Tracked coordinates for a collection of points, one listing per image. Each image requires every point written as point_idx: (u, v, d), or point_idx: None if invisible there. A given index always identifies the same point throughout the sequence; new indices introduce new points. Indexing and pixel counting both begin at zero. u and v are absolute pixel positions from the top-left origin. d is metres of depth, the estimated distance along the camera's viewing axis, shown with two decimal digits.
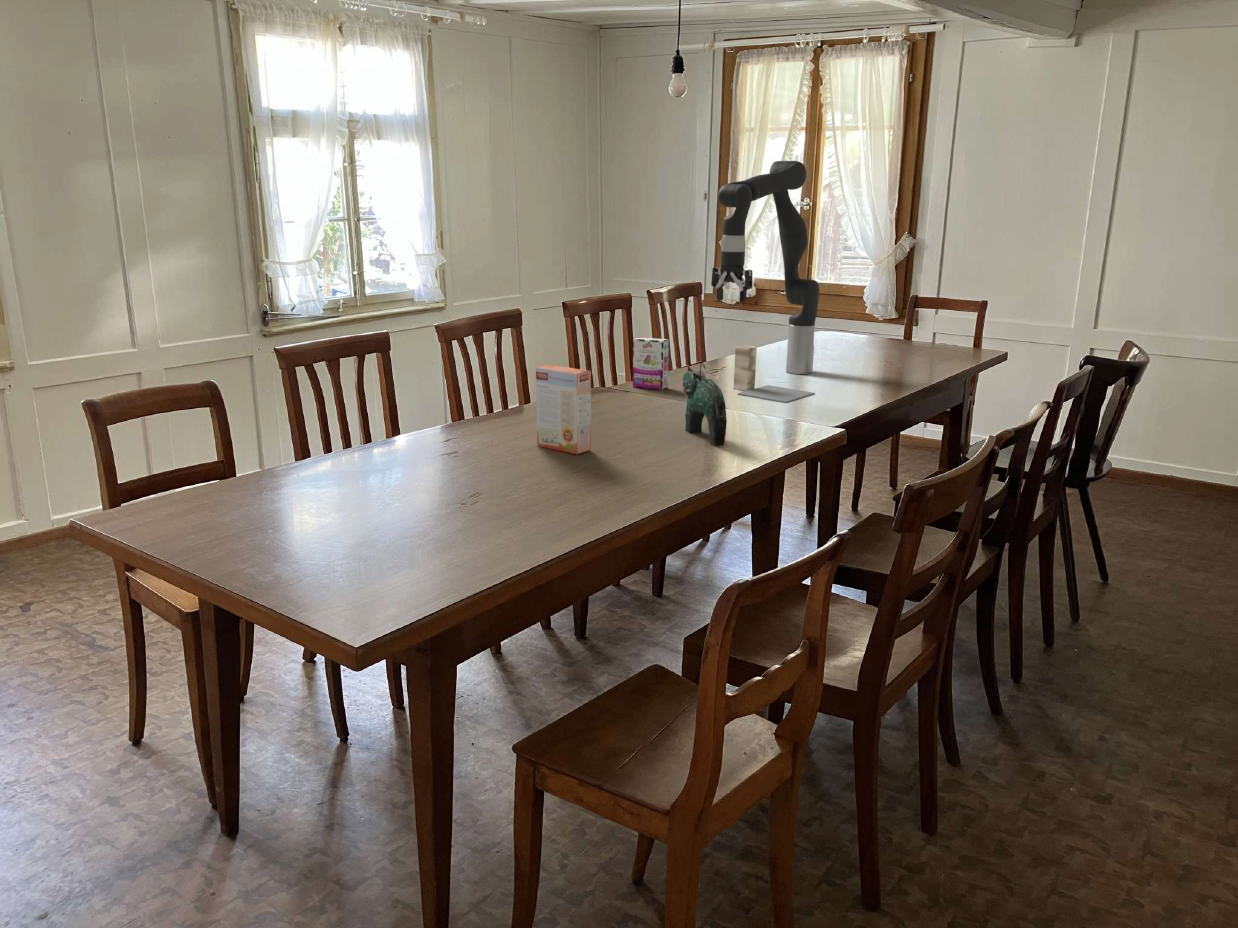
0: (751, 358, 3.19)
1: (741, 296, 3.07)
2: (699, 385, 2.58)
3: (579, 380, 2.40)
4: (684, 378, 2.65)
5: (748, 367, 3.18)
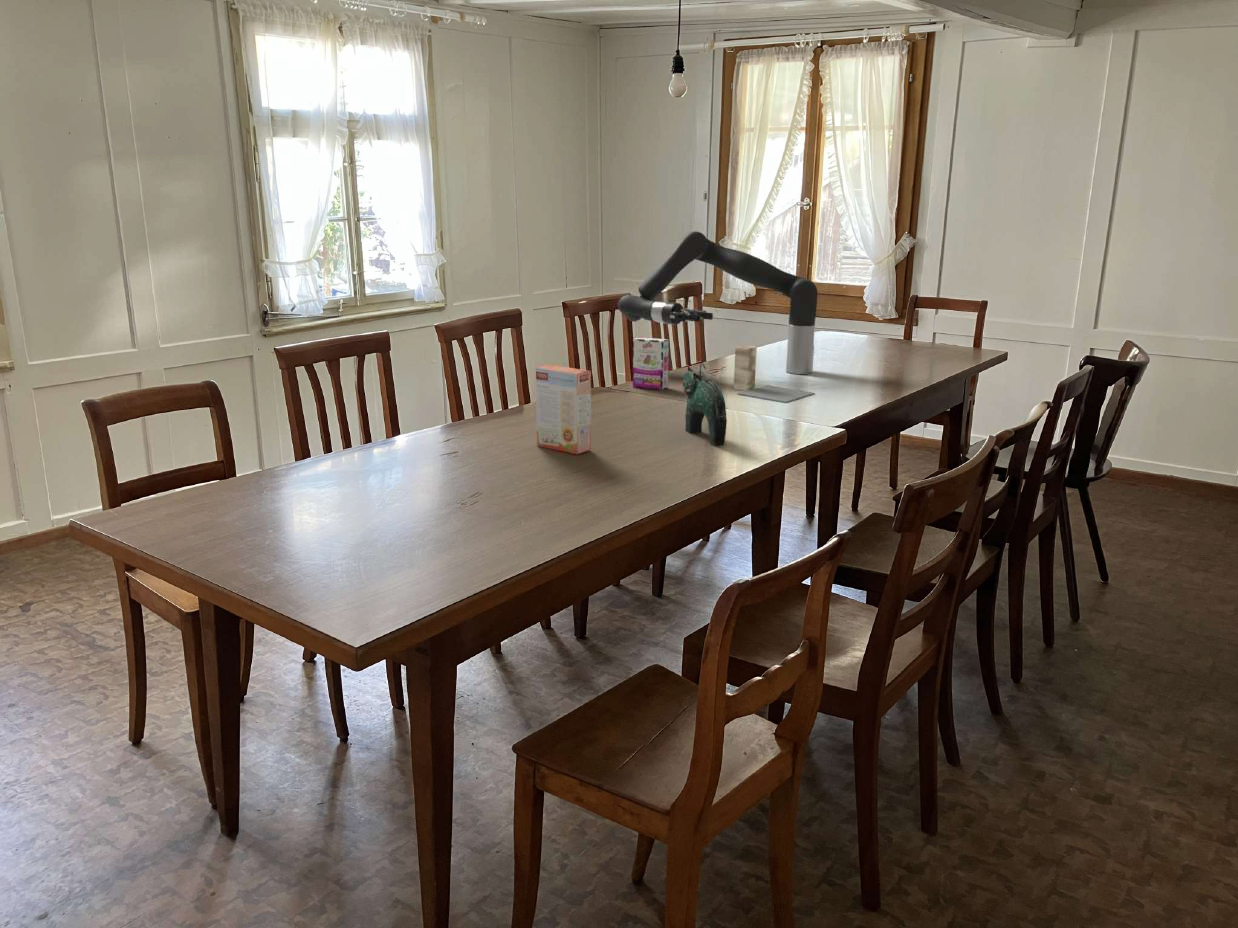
0: (751, 358, 3.19)
1: (694, 320, 3.26)
2: (699, 385, 2.58)
3: (579, 380, 2.40)
4: (684, 378, 2.65)
5: (748, 367, 3.18)
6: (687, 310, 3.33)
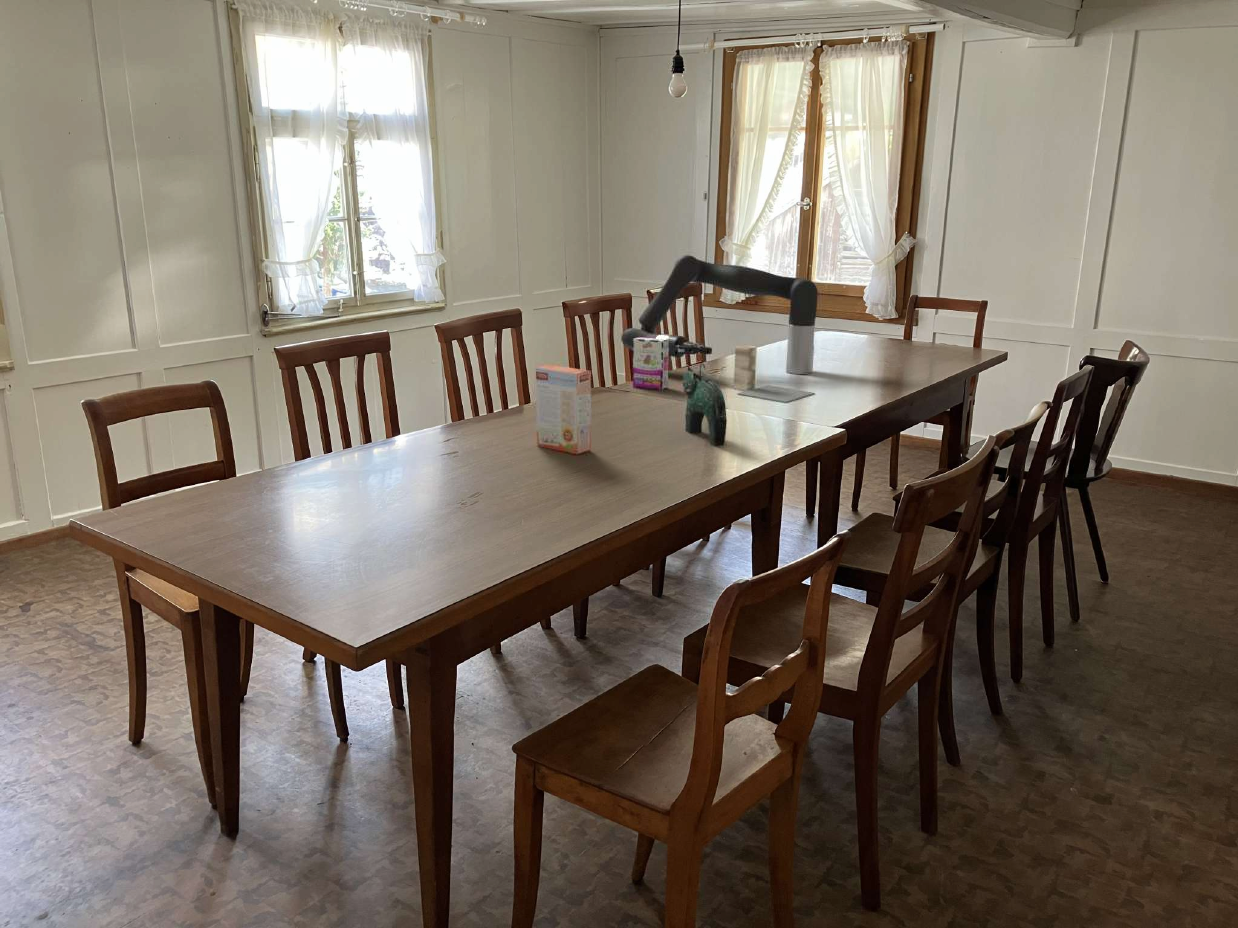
0: (751, 358, 3.19)
1: (704, 353, 3.31)
2: (699, 385, 2.58)
3: (579, 380, 2.40)
4: (684, 378, 2.65)
5: (748, 367, 3.18)
6: (689, 343, 3.36)
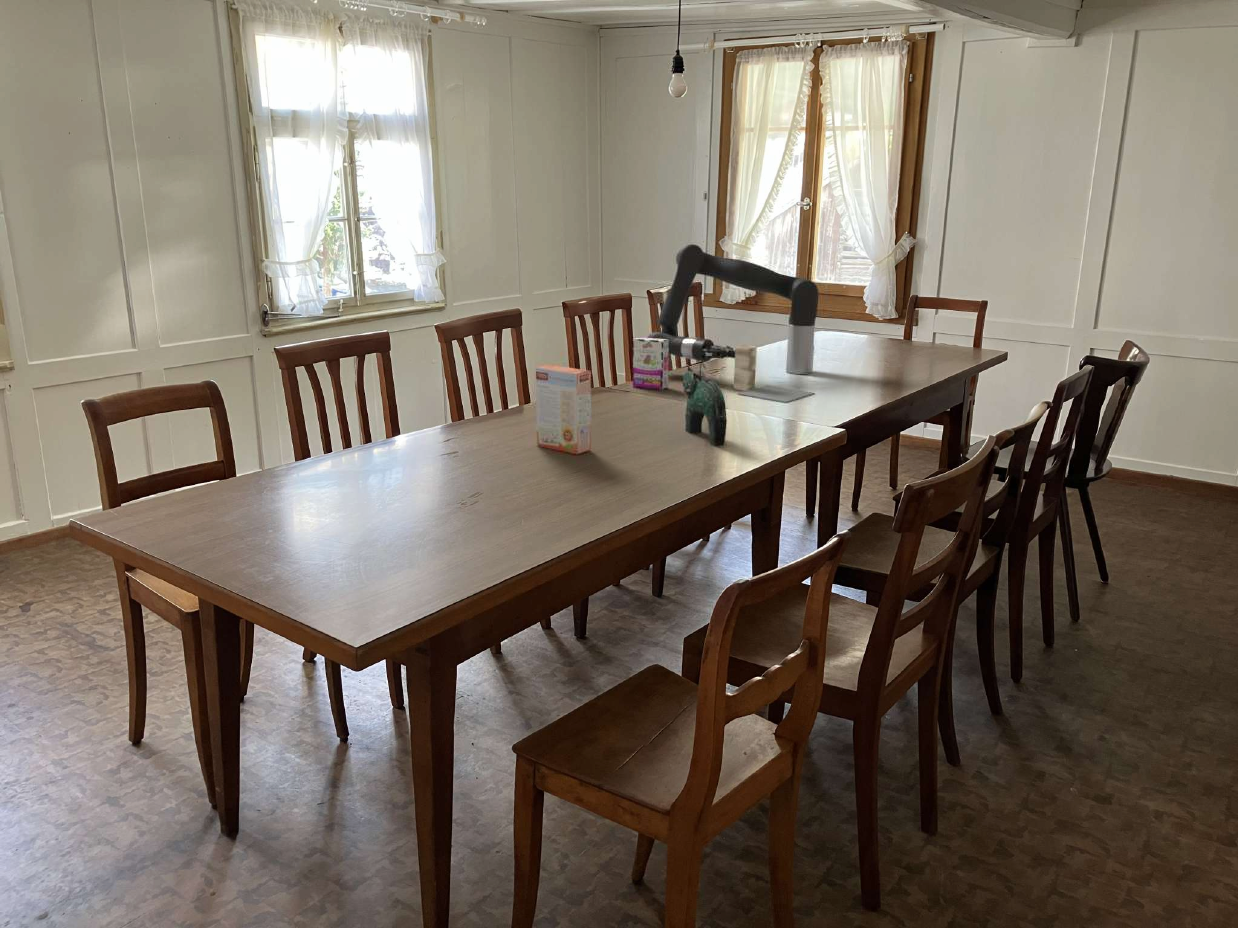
0: (751, 358, 3.19)
1: (733, 357, 3.23)
2: (699, 385, 2.58)
3: (579, 380, 2.40)
4: (684, 378, 2.65)
5: (748, 368, 3.18)
6: (717, 347, 3.28)
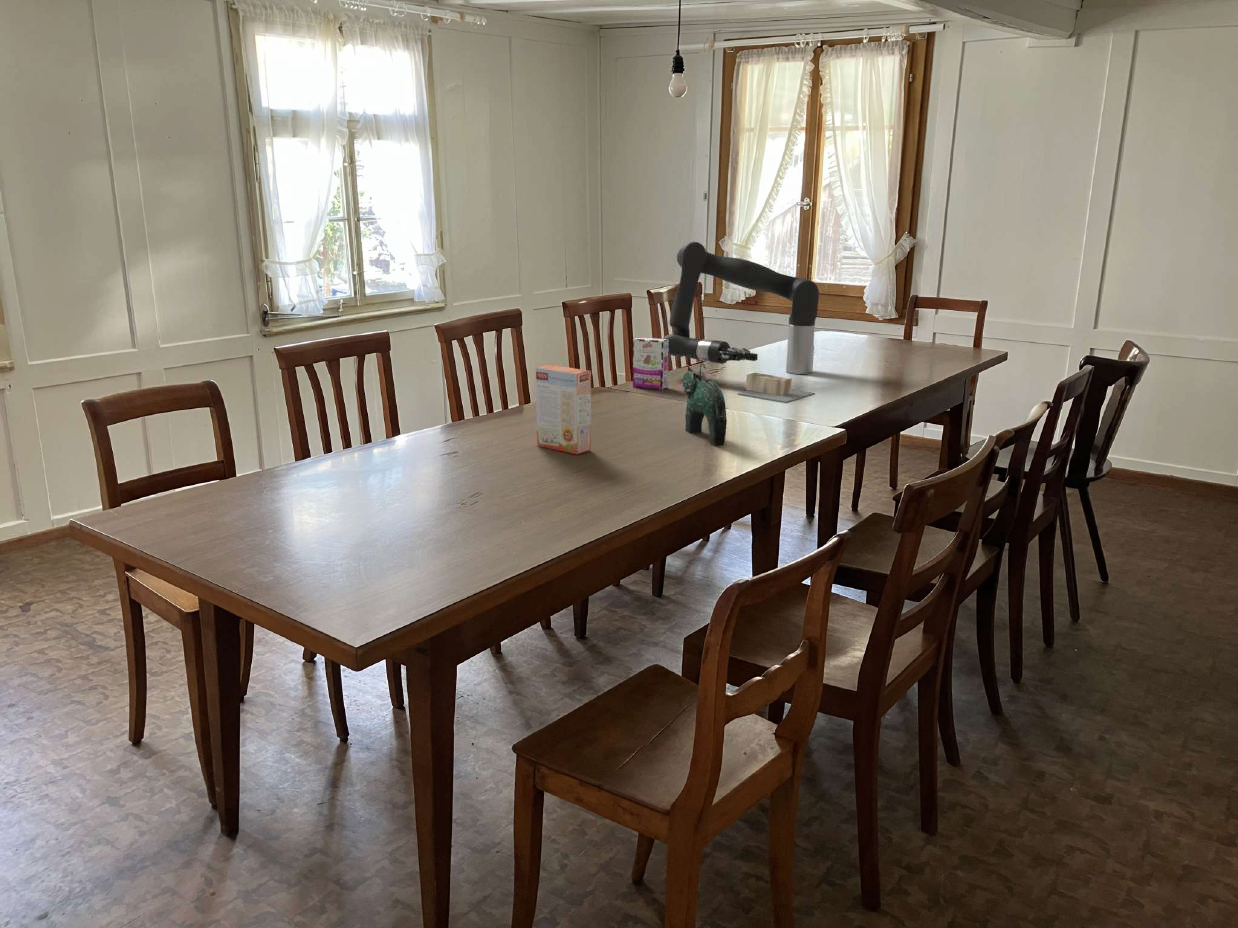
0: None
1: (749, 359, 3.19)
2: (699, 385, 2.58)
3: (579, 380, 2.40)
4: (684, 378, 2.65)
5: None
6: None
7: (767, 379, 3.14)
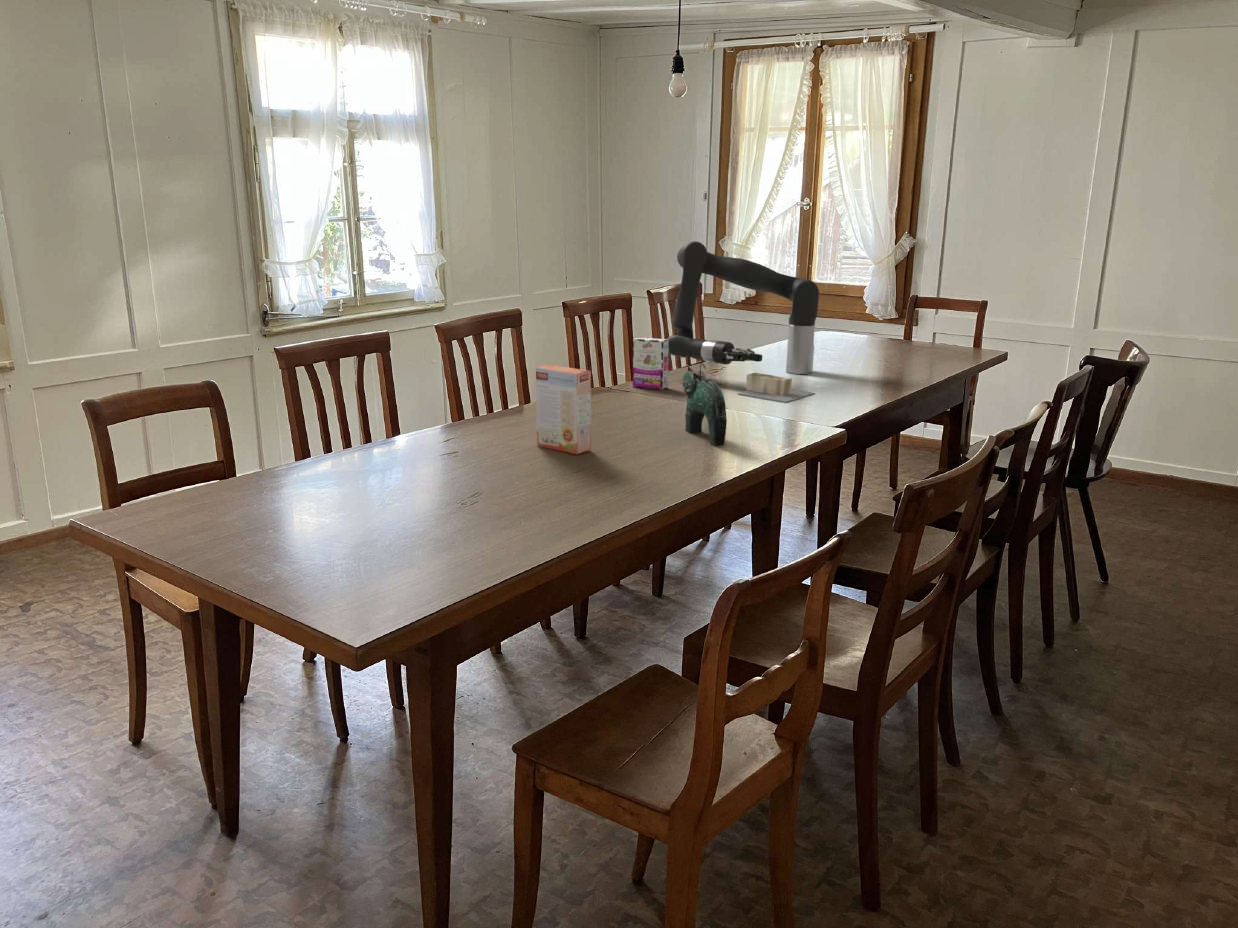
0: None
1: (754, 360, 3.18)
2: (699, 385, 2.58)
3: (579, 380, 2.40)
4: (684, 378, 2.65)
5: None
6: (737, 350, 3.23)
7: (767, 379, 3.14)
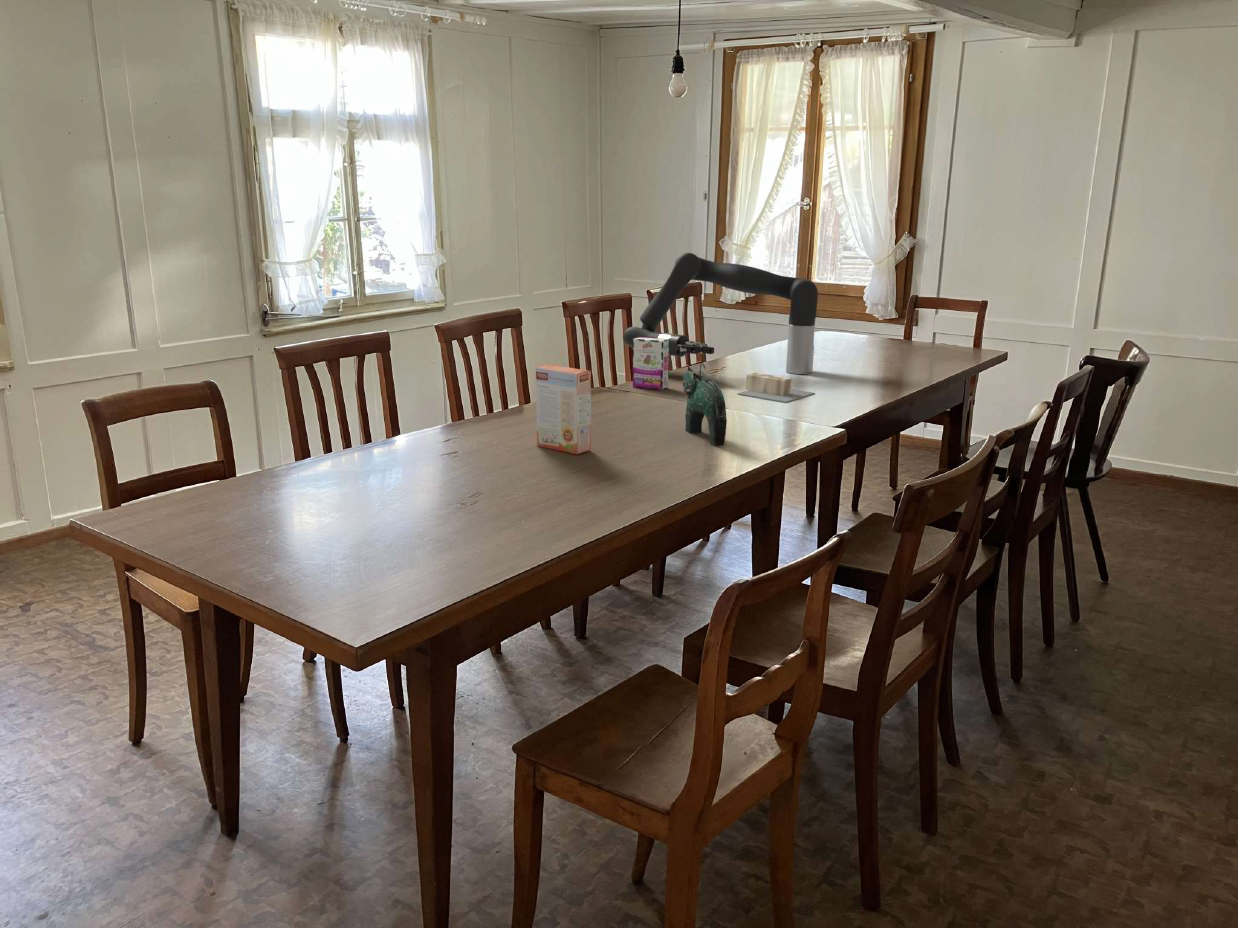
0: None
1: (706, 353, 3.30)
2: (699, 385, 2.58)
3: (579, 380, 2.40)
4: (684, 378, 2.65)
5: None
6: (691, 343, 3.34)
7: (767, 379, 3.14)
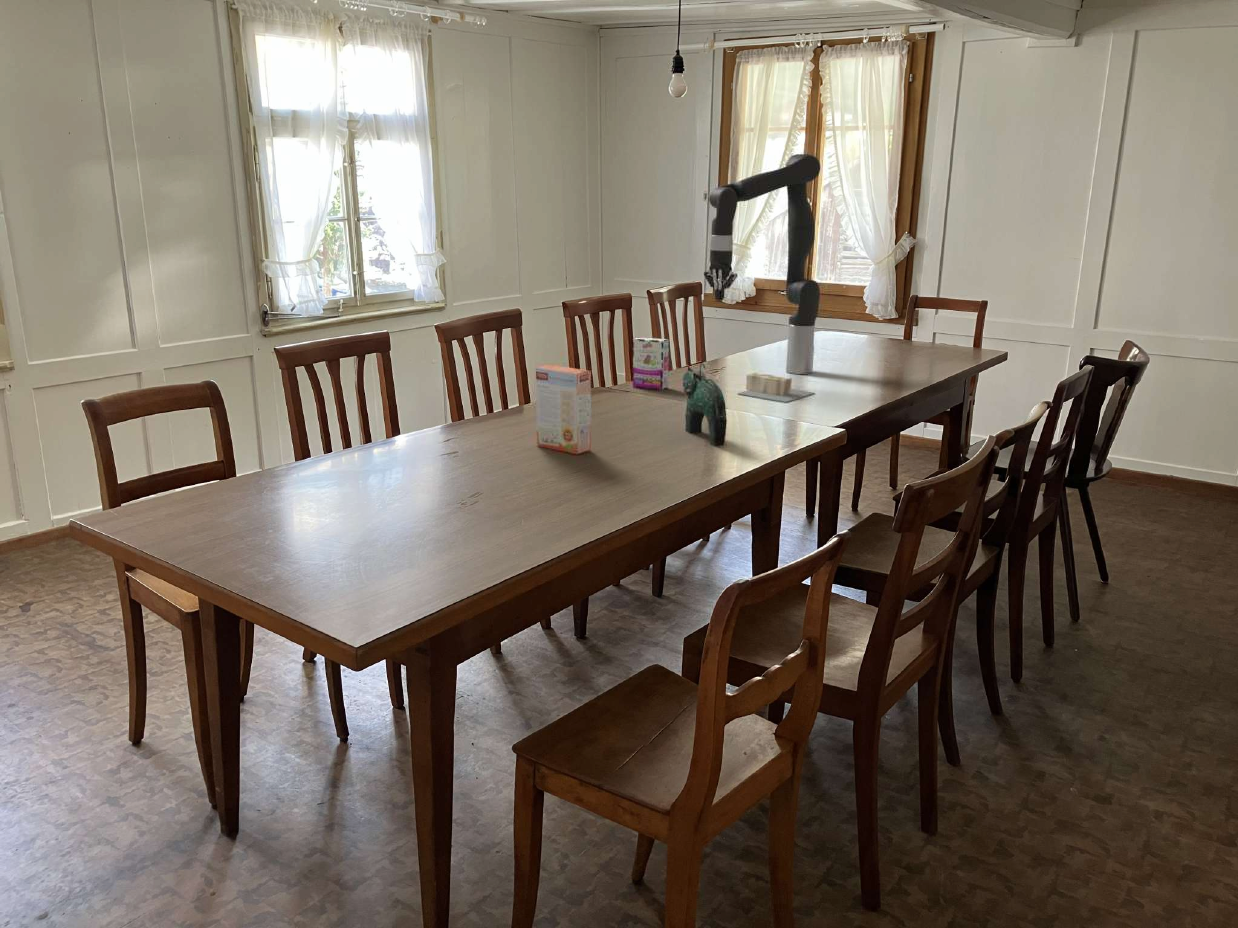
0: None
1: (719, 295, 3.31)
2: (699, 385, 2.58)
3: (579, 380, 2.40)
4: (684, 378, 2.65)
5: None
6: None
7: (767, 379, 3.14)
